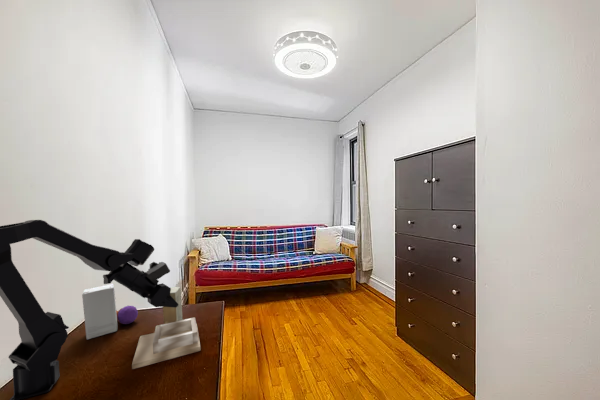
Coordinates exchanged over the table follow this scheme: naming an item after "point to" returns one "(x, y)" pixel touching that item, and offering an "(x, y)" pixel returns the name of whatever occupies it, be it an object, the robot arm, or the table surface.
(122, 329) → the table surface
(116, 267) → the robot arm
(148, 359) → the collar holder
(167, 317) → the skincare box
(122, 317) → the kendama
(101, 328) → the skincare box
